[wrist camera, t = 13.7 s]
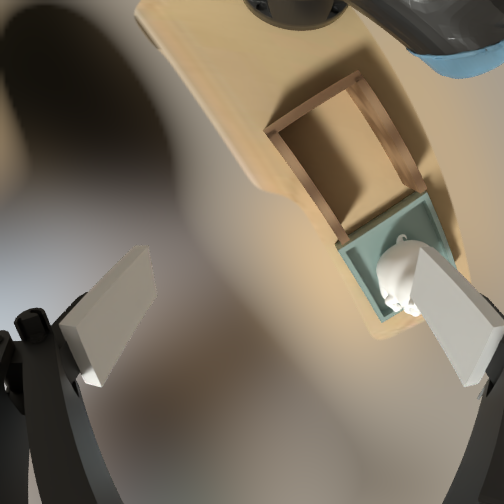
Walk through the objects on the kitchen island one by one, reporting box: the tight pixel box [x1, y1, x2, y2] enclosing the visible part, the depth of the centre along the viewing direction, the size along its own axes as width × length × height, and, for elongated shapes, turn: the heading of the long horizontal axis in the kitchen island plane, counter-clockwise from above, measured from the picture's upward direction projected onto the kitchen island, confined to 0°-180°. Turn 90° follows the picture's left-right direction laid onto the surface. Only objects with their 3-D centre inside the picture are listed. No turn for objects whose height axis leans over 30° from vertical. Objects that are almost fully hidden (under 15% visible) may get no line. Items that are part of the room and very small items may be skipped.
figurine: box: [376, 234, 430, 316], centre depth 37 cm, size 10×10×12 cm
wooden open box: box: [263, 70, 427, 245], centre depth 36 cm, size 17×14×6 cm
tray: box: [335, 191, 457, 323], centre depth 42 cm, size 16×16×2 cm
